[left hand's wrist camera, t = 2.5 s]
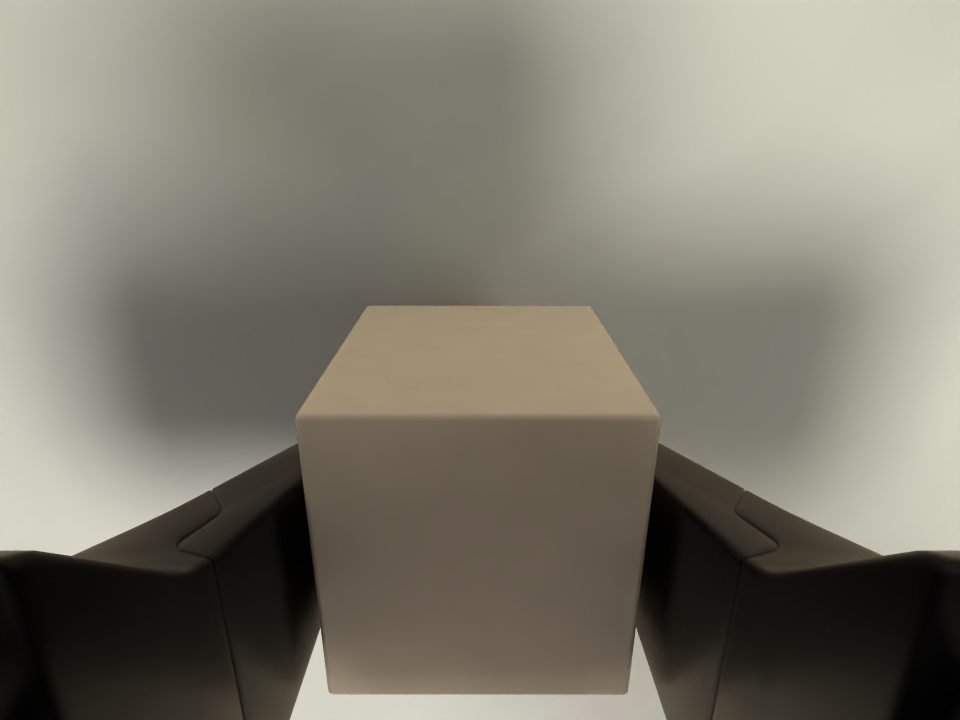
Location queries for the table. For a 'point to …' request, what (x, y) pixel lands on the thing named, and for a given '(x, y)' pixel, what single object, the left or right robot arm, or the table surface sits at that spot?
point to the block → (478, 502)
